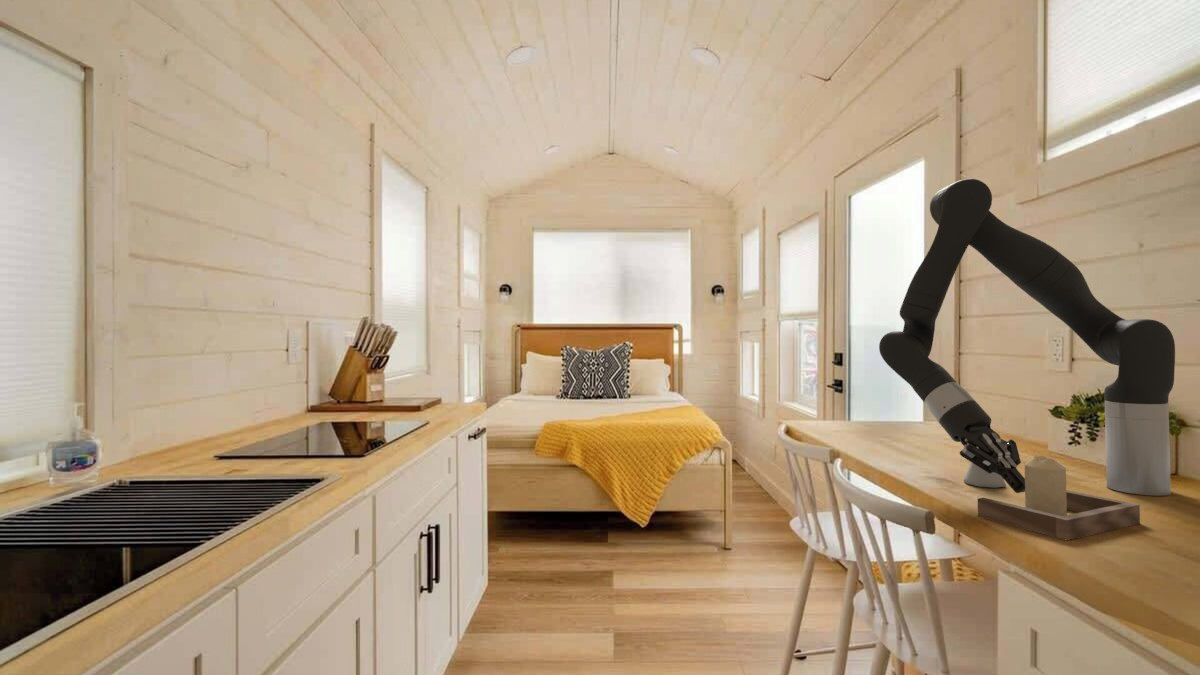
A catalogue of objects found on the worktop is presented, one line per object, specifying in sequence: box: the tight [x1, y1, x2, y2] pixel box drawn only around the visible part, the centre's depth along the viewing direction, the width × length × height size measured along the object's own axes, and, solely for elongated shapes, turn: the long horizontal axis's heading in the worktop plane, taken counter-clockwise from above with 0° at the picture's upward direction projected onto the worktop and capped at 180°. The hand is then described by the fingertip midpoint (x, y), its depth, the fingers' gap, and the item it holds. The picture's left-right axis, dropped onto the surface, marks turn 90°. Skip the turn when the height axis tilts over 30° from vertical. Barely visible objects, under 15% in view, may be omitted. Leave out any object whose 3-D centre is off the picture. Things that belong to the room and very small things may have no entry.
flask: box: [963, 462, 1007, 489], centre depth 121 cm, size 7×7×10 cm
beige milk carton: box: [1024, 455, 1068, 516], centre depth 98 cm, size 6×6×10 cm
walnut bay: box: [977, 489, 1141, 541], centre depth 97 cm, size 19×14×3 cm
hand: (1024, 490), depth 101 cm, fingers closed
